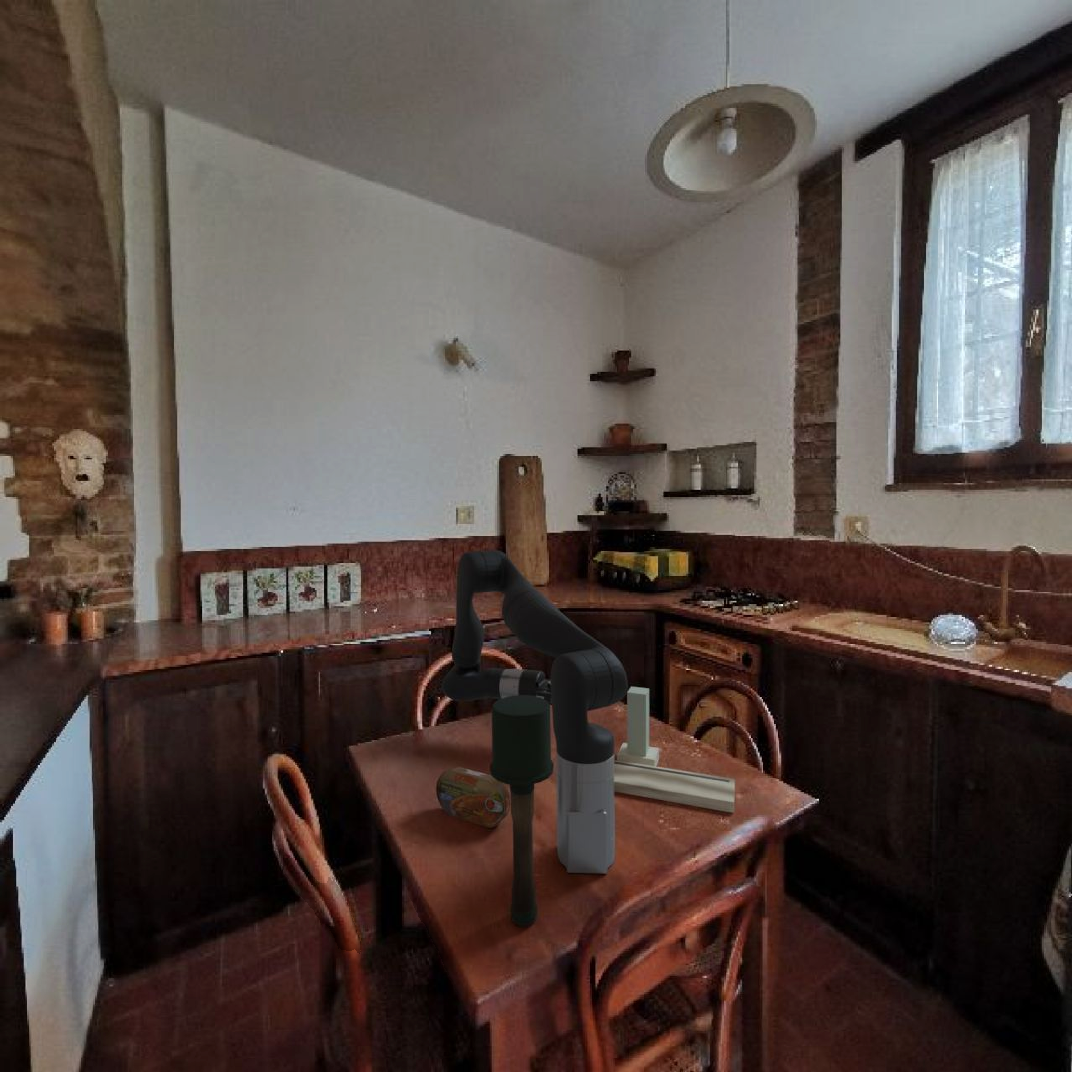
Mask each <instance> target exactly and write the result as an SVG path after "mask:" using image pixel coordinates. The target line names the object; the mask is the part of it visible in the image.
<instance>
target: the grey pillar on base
mask: <svg viewBox="0 0 1072 1072" xmlns="http://www.w3.org/2000/svg"><path fill="white" fill-rule="evenodd" d="M626 699H627V700H626V701H627V703H626V705H627V706H626V707H627V709H626V711H627V712H626V713H627V714H626V716H627V721H626V724H627V725H626V727H627V731H626V735H627V737H626V742H623V743H622V745H621V746H620V748H619V750H618V752H617V753H616V760H619V761H625V762H631V763H637V764H644V765H650V766H656V767H658V762H659V760H660V748H659V747H655V746H654V747H653V746H650V688H646V687H638V686H630V688H629V689H627V692H626Z"/></svg>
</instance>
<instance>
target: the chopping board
mask: <svg viewBox="0 0 1072 1072" xmlns="http://www.w3.org/2000/svg"><path fill="white" fill-rule="evenodd" d="M735 791H736V778H730V777H726V776H717V775H713V774H706V773H700V772H693V771H688V770H680V769H675V768H669V767H663V766H662V767H661V766H650V765H644V764H637V763H631V762H625V761H619V760H617V759H614V793H621V794H625V795H626V794H627V795H632V796H637V797H643V798H648V799H649V798H650V799H654V800H661V801H666V802H669V803H676V804H681V805H688V806H692V807H698V808H704V809H710V810H716V811H721V812H724V813H725V812H727V813H731V814H734V813H735V798H736V797H735V796H736V795H735V794H736V792H735Z"/></svg>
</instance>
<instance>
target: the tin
mask: <svg viewBox="0 0 1072 1072" xmlns="http://www.w3.org/2000/svg"><path fill="white" fill-rule="evenodd" d="M435 793H436V798H437V801H438V803H439V805H440V807H441V809H443V811H444V812H445V813H446V814H447V815H449V816H450V817H452V818H456V819H459V820H461V821H465V822H468V823H471V824H475V825H478V826H481V827H484V828H495V827H497V826H498V825H499V824H501V822H502V821H504V820H505V818H506V817H507V816H508V814H509V812H510V810H511V795H510V793H509V789H508V787H507V786H506V784H505V783H502V782H499V781H497V780H496V779H495V778H493V777H492V775H491V774H488V773H484V772H480V771H476V770H472V769H469V768H465V767H460V766H456V767H453V768H450V769H449V770H446V771H443V772H442V774H440V775H439V776H438V779H437V781H436V787H435Z"/></svg>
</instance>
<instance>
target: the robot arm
mask: <svg viewBox="0 0 1072 1072" xmlns="http://www.w3.org/2000/svg"><path fill="white" fill-rule="evenodd" d="M456 571H457V572H456V593H455V594H456V597H455V598H456V599H455V601H456V602H455V603H456V605H455V606H456V607H455V608H456V609H455V611H456V612H455V614H456V615H455V616H456V617H455V618H456V619H455V631H454V636H453V643H452V647H451V659H452V662H453V663H454V664H453V666H452V668H451V669H450V670H449V671H448V673H447V674H446V675H445V676H444V678H443V679H442V682H441V691H442V692H443V694H444V695H445V696H446V697H447V698H448V699H450V700H453V701H455V702H470V701H477V700H481V699H482V700H483V699H487V698H489V699H497V700H499V699H502V698H505V697H509V696H515V695H529V696H536V697H540V698H542V699H544V700H546V701H547V702H548V703H549V704H550V706H551V712H552V714H551V715H552V726H553V734H554V738H555V743H556V744H555V745H556V746H555V747H556V750H555V751H556V752H555V753H556V830H557V831H556V833H557V835H556V836H557V837H556V839H557V840H556V841H557V857H558V860H559V861H560V863H561V864H562V865H563V866H565V868H566V872H567V873H573V874H607V873H608V868H610V866H612V865H613V864H614V861H615V858H616V857H615V856H616V855H615V854H616V848H615V847H616V842H615V841H616V840H615V838H616V835H615V831H616V830H615V829H616V828H615V827H616V826H615V825H616V824H615V821H616V818H615V792H614V760H615V738H614V735H613V733H612V732H611V731H610V730H609V729H608V728H607V727H604V726H602V725H600V724H597V723H593V722H589V720H588V719H589V718H588V712H590V711H594V710H598V709H603V708H607V707H611V706H613V705H615V704H617V703H619V702H621V700H623V698H624V697H625V696H626V695H627V692H628V685H629V684H628V677H627V673H626V671H625V669H624V665H623V664H622V662H621V661H620V660H619V658H618V657H617V656H616V655H615V653H613V651H612V650H610V649H609V648H608V647H606V646H605V645H604V644H602V643H601V642H599V641H598V640H596V639H595V637H592V636H591V635H589V634H587V633H586V632H585V631H583V630H582V629H581V628H580V627H579V626H577V625H576V624H575V622H573V621H572V620H571V619H569V618H568V617H567V616H566V615H565V614H564V613H563V612H561V611H560V610H559V609H558V608H557V607H556V605H554V603H552V601H550V600H549V599H548V598H547V597H546V596H545V595H544V594H543V593H542V592H541V591H539V590H538V589H537V588H536V587H535V586H534V585H533V584H532V583H531V582H530V581H529V580H528V579H527V578H526V577H525V576H524V575H523V573H521V571H520V570H519V569H518V568H517V566H516V565H515V564H514V563H513V561H512V559H511V558H509V556H508V555H507V554H505V553H504V552H503V551H501V550H498V549H497V550H496V549H491V550H488V549H487V550H473V551H472V550H471V551H466V552H464V553H462V554H461V556H460V558H459V561H458V565H457V570H456ZM491 592H497V593H498V592H499V593H501V594H503V595H504V597H503V599H502V603H501V604H502V605H501V617H502V620H503V622H504V624H505V625H506V626H507V628H508V629H509V631H511V632H512V633H513V635H514V636H515V637H516V639H518V640H519V641H520V642H521V643H523V644H524V645H525V646H526V647H528V648H530V649H532V650H535V651H537V652H541V653H542V654H545V655H548V656H550V657H553V658H555V659H554V661H553V662H552V666H551V670H550V679H547V678H548V677H546V675H545V673H544V672H543V671H542V670H533V669H532V670H531V669H521V668H510V669H509V668H508V669H507V668H499V667H488V668H485V669H484V670H483V671H482V660H481V655H482V652H483V651H482V650H483V648H484V647H483V646H484V643H485V642H484V641H485V630H484V626H483V622H482V621H481V619H480V617H479V615H478V614H477V612H476V610H475V608H474V604H473V603H474V602H473V600H474V595H475V594H480V593H491Z"/></svg>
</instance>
